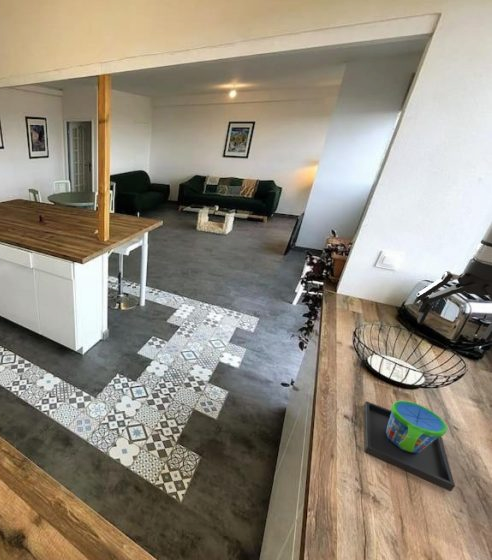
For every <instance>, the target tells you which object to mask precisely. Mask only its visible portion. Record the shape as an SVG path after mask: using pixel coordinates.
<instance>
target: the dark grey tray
mask: <svg viewBox="0 0 492 560" xmlns="http://www.w3.org/2000/svg"><path fill="white" fill-rule="evenodd" d="M362 408H363V409H362V410H363V411H362V412H363V445H364V446H363V450H364V451H363V452H364V453H365V454H367V455H370V456H372V457H374V458H376V459H378V460H380V461H383V462H385V463H387V464H390V465H391V466H393V467H396V468H398V469H401V470H402V471H405V472H407V473H409V474H411V475H414V476H416V477H418V478H419V479H422V480H425V481H427V482H429V483H431V484H434V485H436V486H438V487H440V488H442V489H445V490H447V491H449V492H452V490H454V488H455V487H456V485H455V480H454V477H453V474H452V473H453V472H452V470H451V466H450V463H449V459H448V455H447V451H446V449H445V445H444V441H443V436H441V437H438V438H437V439H436V440H434V441H433V442H432V443H431V444H430V445H428V446H427V447H426V448H425V449H424V450H422V451H421V452H419V453H412V452H408V451H405V450H402V449H400V448H399V447H398V446H396V445H395V444H394V443H392V442H391V441H390V440H389V439H388V438H387V434H386V430H387V426H388V422H389V419H390V415H391V412H392V411H391V409H388V408H386V407H383V406H380V405H377V404H375V403H373V402H370V401H367V400H365V401H364V404H363V407H362Z"/></svg>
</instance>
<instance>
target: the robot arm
mask: <svg viewBox="0 0 492 560" xmlns="http://www.w3.org/2000/svg"><path fill="white" fill-rule="evenodd" d="M472 257H473V258H470V259H469V261H468V263H467V264H466V266H465V268H464V270H463V272H462V273H461V274H455V273H452V272H451V271H449V270H448V271H445V272H444V273H443V274H442V275H441V276H440V278H438V279H437V280H435V281H433V282H432V283H430V284H429V285H428V286H426V287H424V288H423V289H421V290H419V291H418V292H417V293H415V297H416V299H417V300H418V301H421V302H420V303H419V306H418V307H417V310H418V313H420V314H419V315H418V317H417V319H416V320H417V321H416V322H417V324H418V325H423V324H424V321H425V320H426V318H427V317H428V314H429V312H430V311H431V309H432V307H433V303H434V302H436V301H439V300H442V299H445V298H447V297H450V296H452V295H456V294H461V293H465V294H468V295H476V296H478V297H487V296H488V298H489V299H490V302H492V221H491V222H490V224H489V226H488V227H487V229H486V232H485V233H484V235H483V237H482V239H481V240H480V242H479V244H478V245H477V247H476V249H475V251H474V252H473V254H472ZM455 280H457V283H454V284H452V285H451V286H449V287H446V288H444V289H442V290H439V289H441V288H442V287H444V286H446V285H447V284H448V283H449V282H454V281H455ZM437 290H439V291H437ZM482 337H483V339H484V341H486V342H490V341H491V340H492V321H491V322H490V323H489V325H488V326H487V328H486V329H485V331H484V333H482Z"/></svg>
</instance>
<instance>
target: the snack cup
mask: <svg viewBox="0 0 492 560" xmlns="http://www.w3.org/2000/svg"><path fill="white" fill-rule="evenodd" d="M390 408H391V409H390V410H391V411H392V412H391V415H390V419H389V422H388V426H387V430H386V434H387V438H388V439H389V440H390V441H391V442H392V443H394V444H395V445H396V446H398V447H399V448H400V449H402V450H405V451H408V452H412V453H419V452H421V451H422V450H424V449H425V448H426V447H427V446H428V445H430V444H431V443H432V442H433V441H434V440H436V439H437V438H438V437H443V436H445V434H446V433H447V430H448V426H447V424H446V423H445V421H444V420H443V418H441V417H440V416H439V415H438V414H437V413H435V412H434V411H432V410H430V409H429V408H427V407H425V406H423V405H420V404H419V403H416V402H413V401H408V400H396V401H394V402H393V403H392V405H391V407H390Z"/></svg>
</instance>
